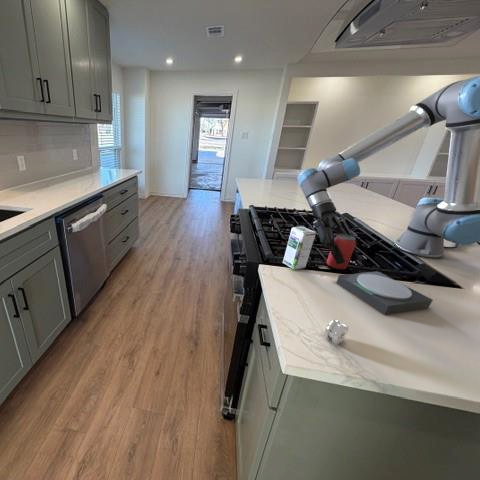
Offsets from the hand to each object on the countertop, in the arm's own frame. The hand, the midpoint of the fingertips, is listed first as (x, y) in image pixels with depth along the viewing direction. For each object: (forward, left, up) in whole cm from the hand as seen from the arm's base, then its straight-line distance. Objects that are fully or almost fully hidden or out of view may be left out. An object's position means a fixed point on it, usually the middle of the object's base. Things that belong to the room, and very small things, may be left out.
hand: (348, 261), depth 91 cm
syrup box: (+16, -7, -4) cm, 18 cm away
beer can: (0, -4, -4) cm, 5 cm away
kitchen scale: (+2, +14, -4) cm, 15 cm away
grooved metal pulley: (+32, +27, -4) cm, 43 cm away
